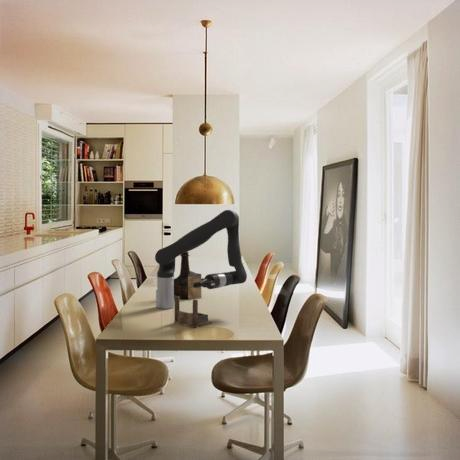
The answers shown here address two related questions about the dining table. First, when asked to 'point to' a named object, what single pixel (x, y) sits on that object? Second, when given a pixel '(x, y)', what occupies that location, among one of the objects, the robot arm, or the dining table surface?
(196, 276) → the brown wooden block
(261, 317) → the dining table surface
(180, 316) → the board
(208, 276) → the robot arm
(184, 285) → the glass bottle
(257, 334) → the dining table surface
